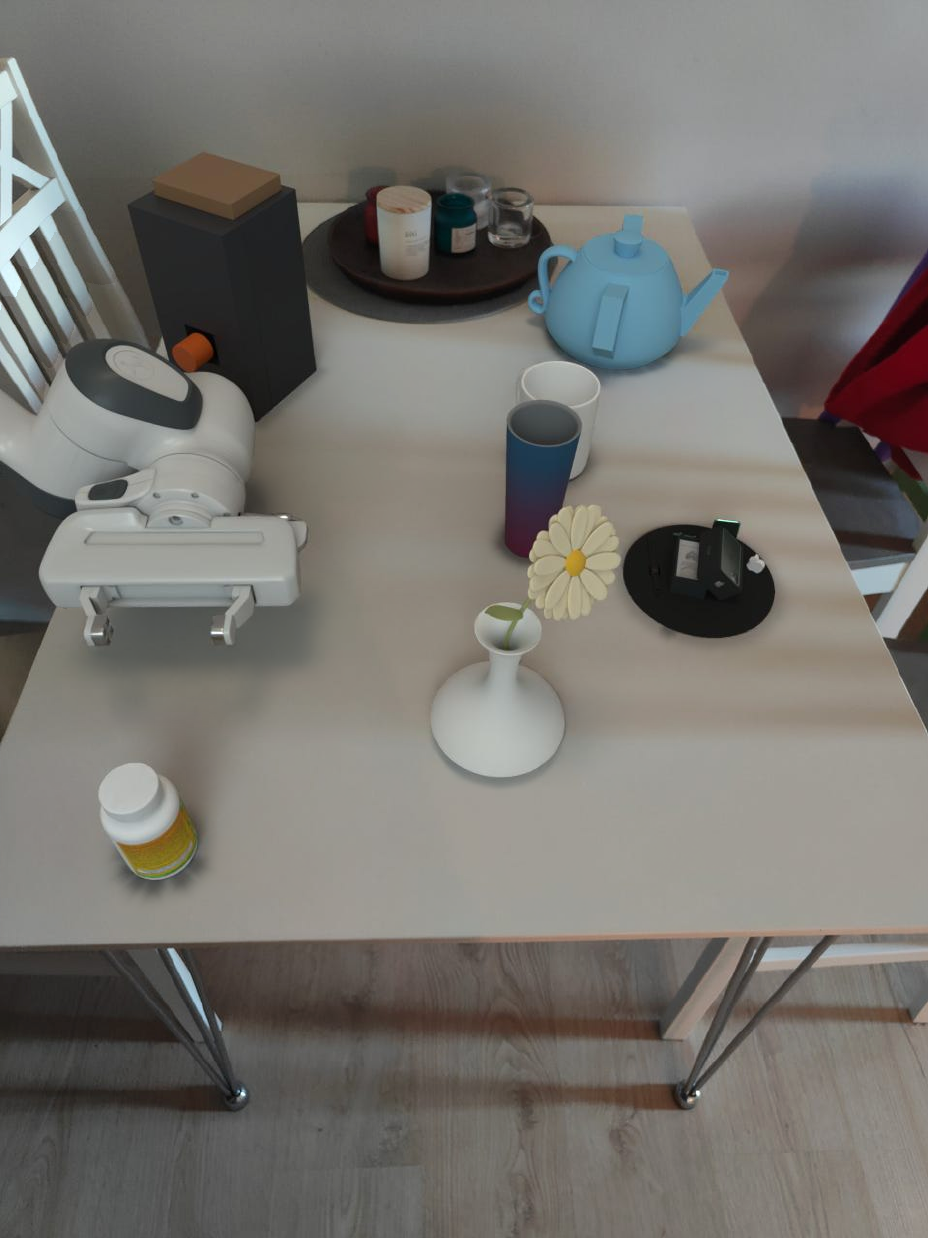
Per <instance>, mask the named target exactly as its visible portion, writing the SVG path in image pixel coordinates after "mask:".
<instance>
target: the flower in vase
mask: <svg viewBox="0 0 928 1238" xmlns="http://www.w3.org/2000/svg"><path fill="white" fill-rule="evenodd" d="M602 513H603V511H602V508H601V506H599V505H596V504H590V505H589V506H587V505H585V504H583V503H581V504H579V505H577V506H576V508H575V509H574V508H573V507H572V506H571V505H567V506H564V507H562V509H561V510H560V511H559V512H558V515H554V516H552V517H551V518H550V521H549V532H547V531H541V532H539V533H538V535H537V538H536V541H535V542H534V544H533V548H532V549H531V551H530V554H529V558H528V559H529V560H530V562H532V563H531V564H530V565H529V566H528V568H527V571H526V574H527V577H528V579H529V583H528V586H529V587H528V589H527V596H528V597H527V598H526V599H525V601H524V603H523V604H519V603H517V602H508V601H507V602H506V601H504V602H497V603H493V604H490V605H488V606H487V607H484V608H483V609H482V610H481V611H480V612H479V613H478V614H477V616H476V617H475V620H474V625H473V629H474V633H475V636H476V638H477V640H478V642H479V643H480V644H481V645H482V646H483V648H485V649H486V650H487V652H488V658H489V660H485V661H479V662H475V663H472V664H470V665H466V666H465V667H463V668H461V669H459V670H457V671H456V672H454V673H453V674H452V675H451V676H449V677H448V678H447V679H446V680H445V681H444V682H443V684H442V685H441V686H440V688H439V689H438V691H437V693H436V694H435V696H434V698H433V701H432V703H431V707H430V717H429V718H430V719H429V721H430V728H431V733H432V735H433V737H434V739H435V742H436V743H437V745H438V746H439V748H440V749H441V751H442V752H443V753H444V755H446V756H447V758H448V759H450V760H451V761H452V762H453V763H455V764H456V765H458V766H459V767H461V768H463V769H465V770H467V771H469V772H471V773H474V774H477V775H480V776H484V777H490V778H511V777H515V776H517V777H518V776H521V775H524V774H527V773H529V772H532V771H534V770H536V769H537V768H539V767H540V766H542V765H544V764H545V763H546V762H548V761H549V760H550V759H551V757H552V756H553V755H554V754H555V753H556V751H558V748H559V747H560V744H561V742H562V740H563V737H564V734H565V724H566V723H565V721H566V719H565V714H564V709H563V706H562V703H561V701H560V699H559V697H558V695H557V693H556V691H555V689H554V688H553V686H551V684H550V683H549V682H548V681H547V680H546V679H545V678H544V677H543V676H542V675H540V674H539V673H537V672H535V671H534V670H532V669H530V668H528V667H526V666H525V665H522V664H520V662H521V659H522V657H523V655H524V654H526V653H528V652H530V651H532V650H533V649H535V648H536V647H537V645H538V644H539V642H540V641H541V639H542V635H543V626H542V621H541V620H540V619H539V617H538V615H537V614H536V613H535V612H534V611H533V610H532V609H530V608H529V605H530V604H531V602H532V601H533V600H534V604H535V606H536V608H537V609H538V610H542V609H543V616H544V618H545V619H546V620H551V619H552V618H553V619H554V620H555V621H556V622H560V621H561V620H566V619H568V617H569V618H570V619H571V620H572V621H576V620H578V619H579V618H580V617H581V615H582V616H583V617H587V616H589V615H590V614H591V612H592V607H593V606H594V604H595V601H596V600H597V601H599V602H603V601H605V600H606V599H607V598H608V595H609V592H608V587H607V586H610V585H612V584H614V583H615V581H616V577H617V576H616V573H615V571H614V570H615V569H616V568H618V567H619V566H620V564H621V563H622V556H621V555H620V554H619V553H617V548H618V547H619V545H620V538H619V536H617V535H616V534H617V530H616V528H615V527H614V525H613V523H612V522H611V521H609V518H608V517H607V516H606V515H602Z"/></svg>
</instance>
